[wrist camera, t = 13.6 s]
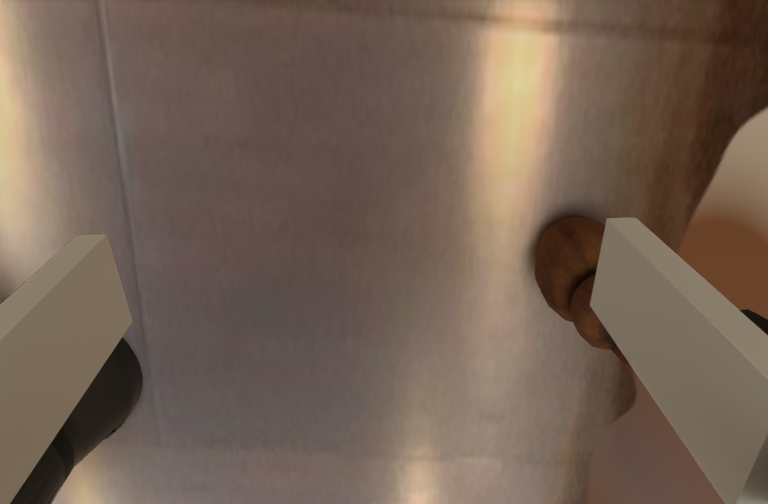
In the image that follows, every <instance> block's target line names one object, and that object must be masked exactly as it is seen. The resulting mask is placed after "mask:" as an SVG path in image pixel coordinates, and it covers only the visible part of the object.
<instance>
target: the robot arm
mask: <svg viewBox="0 0 768 504" xmlns="http://www.w3.org/2000/svg"><path fill="white" fill-rule="evenodd" d="M590 306H591V308H592V309H593V311H594V312H595V314H596V315H597V317H598V318H599V320H600V321H601V323H602V324H603V326H604V327H605V328H606V330H607V331H608V333H609V334H610V336H611V337H612V339H613V340H614V342H615V343H616V345H617V346H618V348H619V349H620V350H621V352H622V353H623V355H624V356H625V358H626V359H627V361H628V362H629V364H630V365H631V367H632V368H633V370H634V371H635V372H636V374H637V375H638V377H639V378H640V380H641V381H642V383H643V384H644V385H645V387H646V389H647V390H648V391H649V393H650V394H651V396H652V397H653V399H654V400H655V402H656V403H657V405H658V406H659V407H660V409H661V411H662V412H663V413H664V415H665V416H666V418H667V419H668V421H669V422H670V424H671V425H672V426H673V428H674V430H675V431H676V433H677V434H678V435H679V437H680V438H681V440H682V441H683V442H684V444H685V446H686V447H687V449H688V450H689V451H690V453H691V454H692V456H693V457H694V459H695V460H696V462H697V463H698V465H699V466H700V468H701V469H702V471H703V472H704V474H705V475H706V476H707V478H708V479H709V481H710V482H711V484H712V485H713V487H714V488H715V490H716V491H717V493H718V494H719V496H720V497H721V498H722V500H723V501H724V503H725V504H768V320H767V319H765V318H764V317H762V316H760V315H758V314H756V313H754V312H752V311H750V310H739V309H737V308H736V307H735V306H734V305H733V304H732V303H731V302H729V301H728V300H727V299H726V298H725V297H724V296H723V295H722V294H721V293H719V292H718V291H717V290H716V289H715V288H714V287H713V286H712V285H710V284H709V283H708V282H707V281H706V280H705V279H704V278H703V277H702V276H700V275H699V274H698V273H697V272H696V271H695V270H694V269H693V268H691V267H690V266H689V265H688V264H687V263H686V262H685V261H684V260H682V259H681V258H680V257H679V256H678V255H677V254H676V253H675V252H674V251H672V250H671V249H670V248H669V247H668V246H667V245H666V244H665V243H663V242H662V241H661V240H660V239H659V238H658V237H657V236H656V235H654V234H653V233H652V232H651V231H650V230H649V229H648V228H647V227H646V226H644V225H643V224H642V223H641V222H640V221H639V220H638V219H637V218H635V217H633V218H607V220H606V225H605V230H604V235H603V240H602V245H601V250H600V255H599V261H598V266H597V271H596V276H595V281H594V286H593V291H592V296H591V301H590ZM132 322H133V320H132V317H131V314H130V310H129V307H128V304H127V300H126V297H125V294H124V290H123V287H122V283H121V280H120V277H119V273H118V270H117V267H116V263H115V260H114V257H113V253H112V250H111V246H110V243H109V240H108V236H107V234H101V235H77V236H76V237H75V238H74V239H72V240H71V241H70V242H69V243H68V244H67V245H66V246H65V247H64V248H62V249H61V250H60V251H59V252H58V253H57V254H56V255H55V256H54V257H52V258H51V259H50V260H49V261H48V262H47V263H46V264H45V265H44V266H42V267H41V268H40V269H39V270H38V271H37V272H36V273H35V274H33V275H32V276H31V277H30V278H29V279H28V280H27V281H26V282H25V283H23V284H22V285H21V286H20V287H19V288H18V289H17V290H16V291H15V292H13V293H12V294H11V295H10V296H9V297H8V298H7V299H6V300H5V301H3V302H2V303H1V304H0V504H51V503H52V502H53V500H54V498H55V497H56V495H57V493H58V492H59V490H60V488H61V487H62V485H63V484H64V482H65V480H66V479H67V477H68V475H69V474H70V472H71V471H72V469H73V468H74V466H75V465H77V464H78V463H79V462H80V461H81V460H82V459H83V458H84V457H85V456H86V455H88V454H89V453H90V452H91V451H92V450H93V449H94V448H95V447H96V446H97V445H98V444H99V443H100V442H101V441H103V440H104V439H106V438H108V437H109V436H111V435H112V434H113V433H114V432H116V431H117V430H118V429H119V428H120V427H121V426H122V425H123V423H124V422H125V421H126V420H127V418H128V416H129V415H130V413H131V411H132V409H133V408H134V406H135V404H136V402H137V401H138V398H139V396H140V393H141V387H142V378H141V372H140V368H139V365H138V362H137V360H136V358H135V356H134V354H133V353H132V351H131V349H130V348H129V347H128V345H127V344H126V343H125V342H124V340H123V339H122V337H123V335H124V334H125V332H126V331H127V329H128V328H129V326H130V325H131V323H132Z"/></svg>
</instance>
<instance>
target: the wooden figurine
mask: <svg viewBox="0 0 768 504" xmlns="http://www.w3.org/2000/svg"><path fill="white" fill-rule="evenodd" d="M604 230H605V226H604V225H603V224H601V223H599V222H596V221H594V220H591V219H588V218H584V217H570V218H565V219H562V220H560V221H557V222H555V223H554V224H553V225H552V226H551V227H550V228H548V229H547V230H546V232H545V233H544V235H543V236H542V237H541V239H540V242H539V245H538V248H537V252H536V262H535V276H536V281H537V283H538V285H539V288H540V290H541V292H542V294H543V296H544V298H545V300H546V302H547V303H548V305H549V307H551V308H552V309H553V310H554V311H555V312H557V313H558V314H559V315H560V316H561V317H562V318H564V319H565V320H567V321H571V322H574V324H575V327H576V329H577V331H578V332H579V334H580V335H581V336H582V337H583V338H584V339H585V340H586V341H587V342H588V343H589V344H591V345H592V346H593V347H596V348H601V349H605V350H606V349H611V350H612V351H613V352H614V353H615V354H616V355H617V356H618V357H619V358H620V359H621V360H622V361H623V362H624V363H625V364H629V362H628V361H627V359H626V358H625V356H624V355H623V353H622V352H621V350H620V349H619V348H618V346H617V345H616V343H615V342H614V340H613V339H612V337H611V336H610V334H609V333H608V331H607V330H606V328H605V327H604V326H603V324H602V323H601V321H600V320H599V318H598V317H597V315H596V314H595V312H594V311H593V309H592V308H591V306H590V301H591V296H592V291H593V286H594V281H595V276H596V271H597V266H598V261H599V255H600V250H601V245H602V240H603V235H604Z"/></svg>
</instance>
